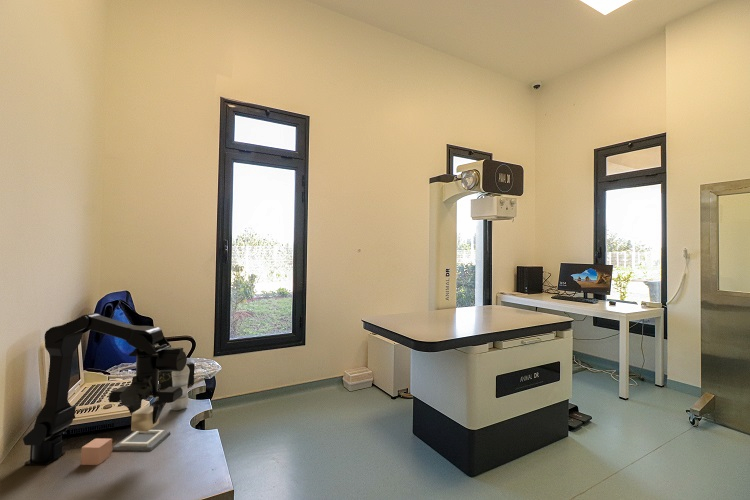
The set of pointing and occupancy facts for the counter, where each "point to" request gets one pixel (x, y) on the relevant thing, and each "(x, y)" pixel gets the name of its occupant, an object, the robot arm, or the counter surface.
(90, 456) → the terracotta block
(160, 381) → the nameplate
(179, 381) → the plastic bottle
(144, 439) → the baseplate
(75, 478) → the counter surface
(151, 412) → the maple block
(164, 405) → the robot arm
